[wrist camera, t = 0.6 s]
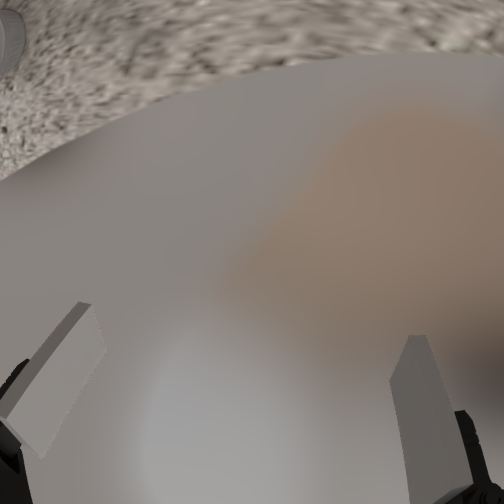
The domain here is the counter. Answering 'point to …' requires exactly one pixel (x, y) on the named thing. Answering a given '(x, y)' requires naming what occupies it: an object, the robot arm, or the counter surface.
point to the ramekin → (10, 40)
